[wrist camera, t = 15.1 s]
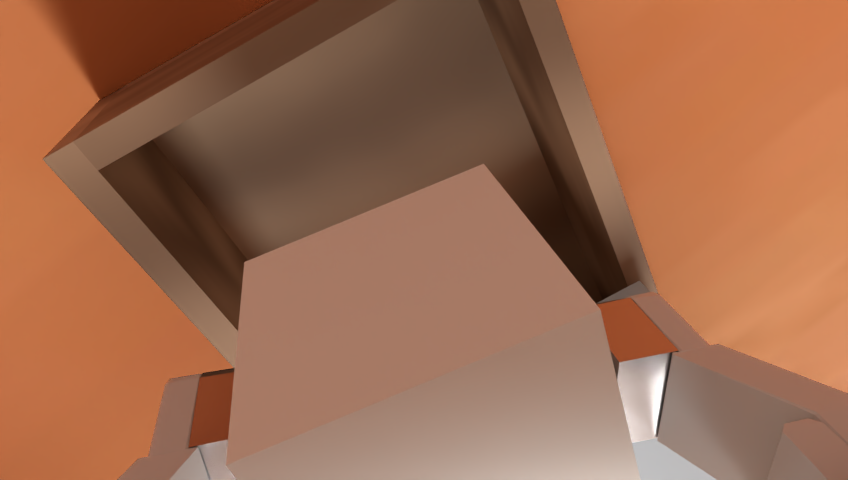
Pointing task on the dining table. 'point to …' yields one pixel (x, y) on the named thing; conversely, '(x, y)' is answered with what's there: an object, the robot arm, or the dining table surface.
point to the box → (346, 140)
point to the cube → (424, 351)
